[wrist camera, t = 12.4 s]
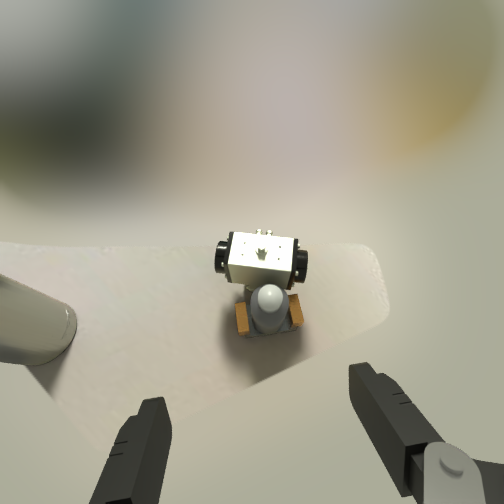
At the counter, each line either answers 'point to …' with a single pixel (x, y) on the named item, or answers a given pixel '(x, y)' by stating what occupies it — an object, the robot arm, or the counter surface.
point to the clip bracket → (289, 324)
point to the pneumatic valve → (261, 260)
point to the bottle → (269, 308)
